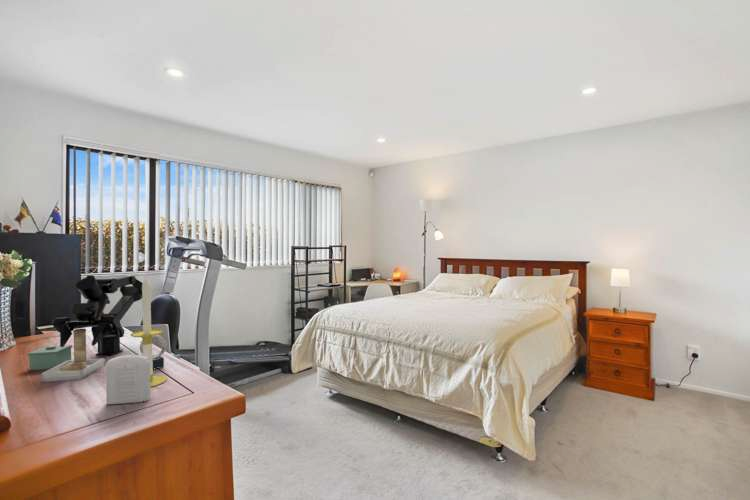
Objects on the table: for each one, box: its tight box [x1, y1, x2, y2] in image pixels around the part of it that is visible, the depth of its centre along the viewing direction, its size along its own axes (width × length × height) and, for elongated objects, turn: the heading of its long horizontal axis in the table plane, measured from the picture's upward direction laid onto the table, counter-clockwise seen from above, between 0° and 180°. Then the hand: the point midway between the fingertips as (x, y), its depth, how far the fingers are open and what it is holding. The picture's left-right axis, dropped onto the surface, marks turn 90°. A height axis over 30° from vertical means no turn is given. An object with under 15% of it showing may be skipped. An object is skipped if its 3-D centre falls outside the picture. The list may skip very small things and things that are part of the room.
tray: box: [40, 357, 105, 383], centre depth 122 cm, size 13×11×2 cm
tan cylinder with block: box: [60, 328, 87, 372], centre depth 123 cm, size 8×5×13 cm, turn 11°
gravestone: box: [105, 354, 151, 405], centre depth 100 cm, size 10×4×12 cm, turn 103°
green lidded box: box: [27, 344, 73, 371], centre depth 130 cm, size 9×9×7 cm
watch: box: [139, 334, 168, 370], centre depth 127 cm, size 6×8×11 cm
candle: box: [130, 277, 168, 388], centre depth 113 cm, size 10×10×32 cm
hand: (77, 345), depth 123 cm, fingers open, 9 cm apart
